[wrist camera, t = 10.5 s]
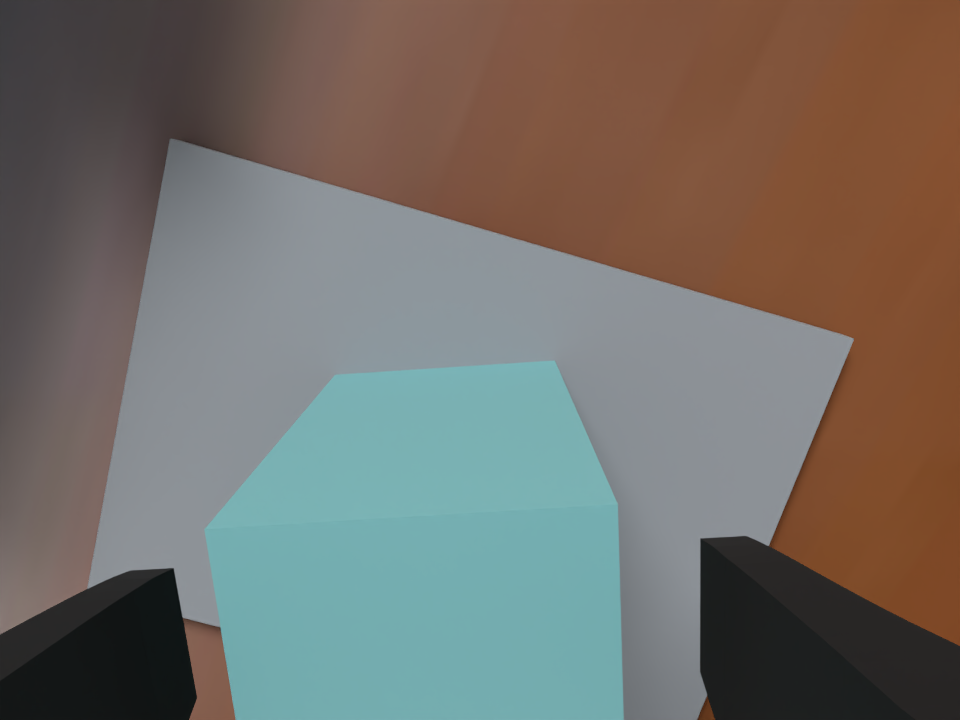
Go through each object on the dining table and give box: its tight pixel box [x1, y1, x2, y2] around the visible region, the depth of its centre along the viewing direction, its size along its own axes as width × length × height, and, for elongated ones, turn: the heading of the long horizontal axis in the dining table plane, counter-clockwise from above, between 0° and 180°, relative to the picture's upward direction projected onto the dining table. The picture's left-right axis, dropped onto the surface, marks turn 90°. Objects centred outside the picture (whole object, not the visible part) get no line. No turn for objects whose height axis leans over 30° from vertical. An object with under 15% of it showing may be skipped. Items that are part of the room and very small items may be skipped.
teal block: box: [204, 361, 624, 720], centre depth 12 cm, size 4×4×7 cm
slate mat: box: [87, 138, 854, 720], centre depth 15 cm, size 14×10×1 cm
